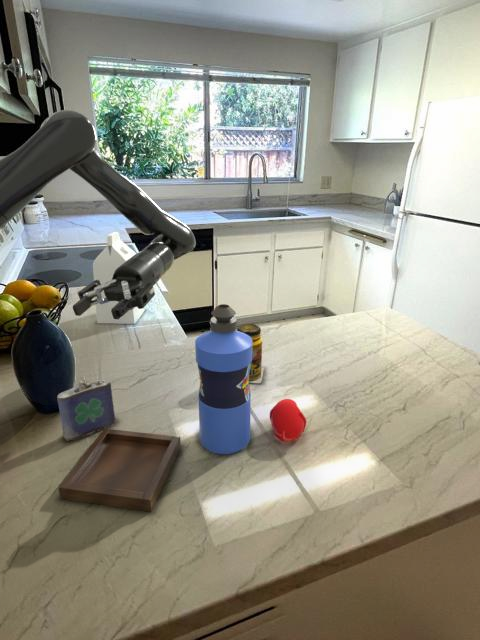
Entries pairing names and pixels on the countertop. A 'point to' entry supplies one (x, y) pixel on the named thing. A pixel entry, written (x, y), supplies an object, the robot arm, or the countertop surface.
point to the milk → (104, 272)
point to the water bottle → (224, 384)
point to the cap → (287, 420)
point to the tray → (122, 470)
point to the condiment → (254, 351)
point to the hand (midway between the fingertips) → (94, 313)
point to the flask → (86, 408)
